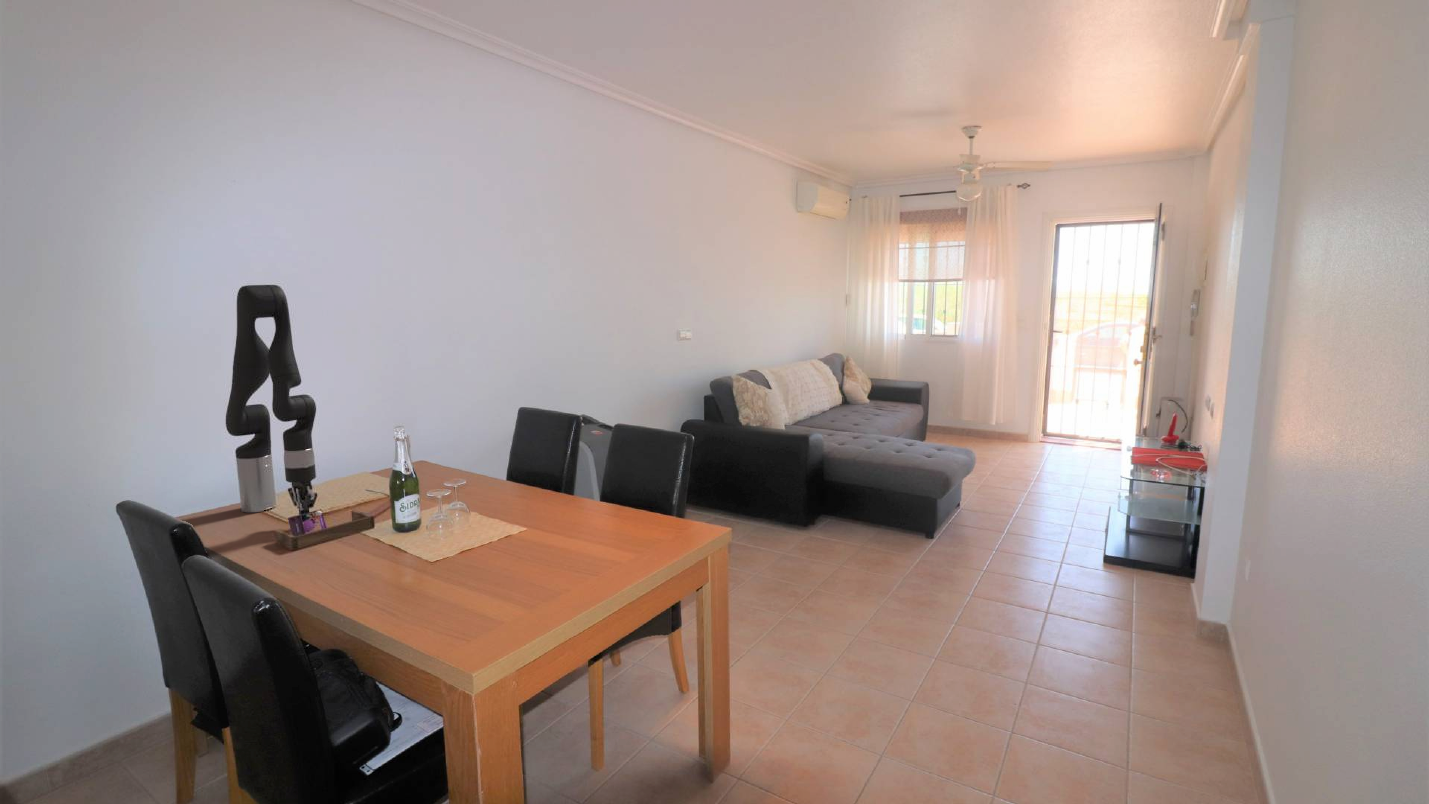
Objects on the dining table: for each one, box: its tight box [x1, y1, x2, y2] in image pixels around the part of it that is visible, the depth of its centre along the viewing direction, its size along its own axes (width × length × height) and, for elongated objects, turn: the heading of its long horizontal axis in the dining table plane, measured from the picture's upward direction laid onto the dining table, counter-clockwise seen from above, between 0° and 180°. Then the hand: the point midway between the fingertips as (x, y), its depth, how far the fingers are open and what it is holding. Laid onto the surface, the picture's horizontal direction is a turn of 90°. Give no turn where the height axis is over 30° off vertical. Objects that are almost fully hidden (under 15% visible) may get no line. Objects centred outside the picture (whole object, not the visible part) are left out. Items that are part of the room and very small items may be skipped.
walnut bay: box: [274, 509, 376, 551], centre depth 189 cm, size 10×22×4 cm, turn 146°
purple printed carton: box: [287, 509, 327, 536], centre depth 189 cm, size 7×5×9 cm
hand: (305, 521), depth 196 cm, fingers closed
